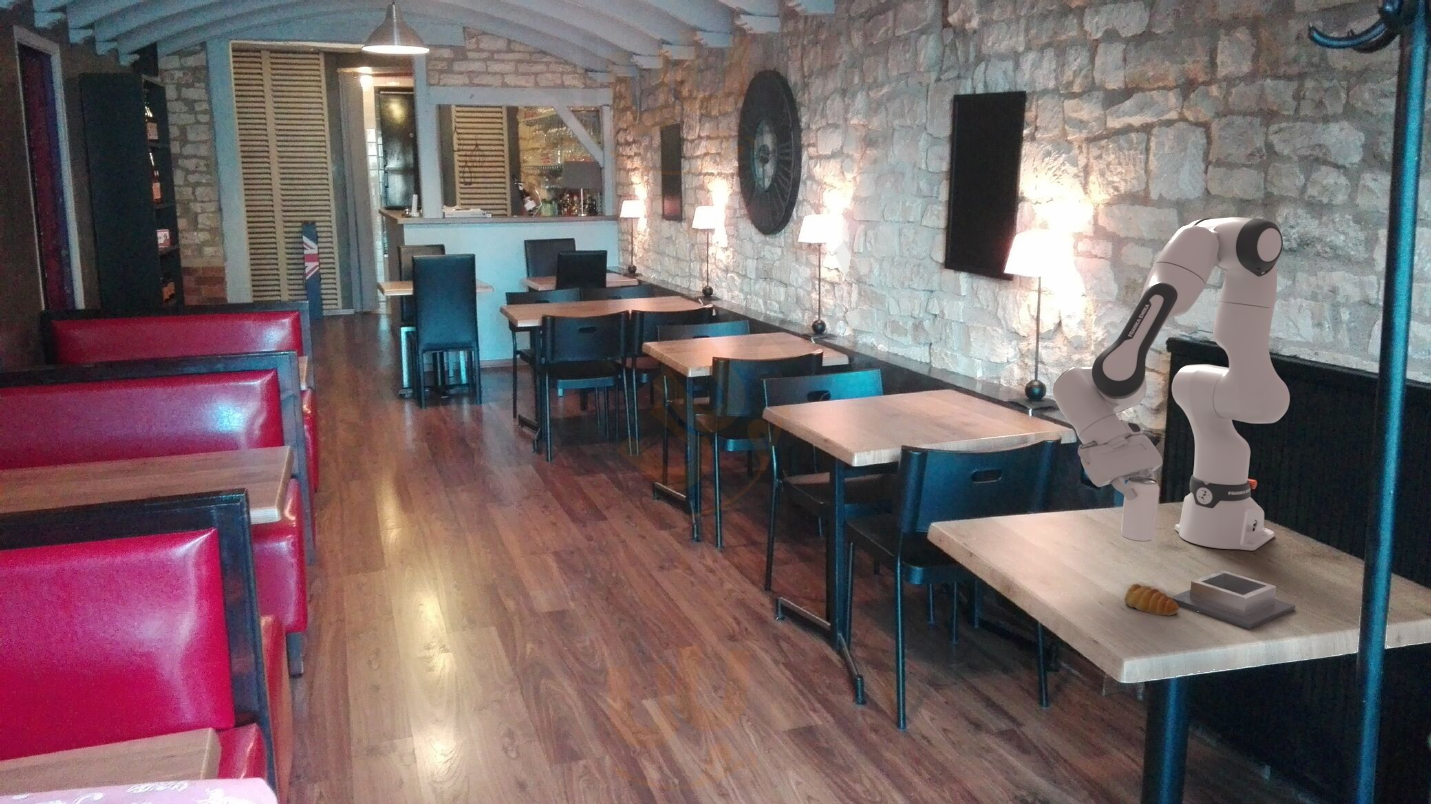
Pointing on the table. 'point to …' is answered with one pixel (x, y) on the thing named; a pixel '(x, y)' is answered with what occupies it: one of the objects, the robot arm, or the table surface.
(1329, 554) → the table surface
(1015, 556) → the table surface
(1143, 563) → the table surface
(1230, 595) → the collar
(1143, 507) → the can
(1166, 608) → the pastry
